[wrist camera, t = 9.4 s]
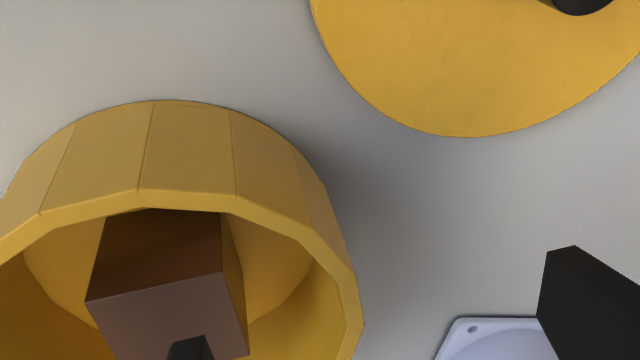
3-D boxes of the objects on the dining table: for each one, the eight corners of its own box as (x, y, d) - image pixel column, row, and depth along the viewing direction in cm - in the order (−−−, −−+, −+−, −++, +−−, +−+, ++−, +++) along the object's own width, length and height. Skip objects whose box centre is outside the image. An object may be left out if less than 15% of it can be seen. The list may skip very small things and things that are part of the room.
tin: (362, 121, 19) (410, 208, 14) (297, 341, 25) (317, 449, 20) (-14, 75, 15) (-101, 170, 11) (20, 343, 22) (-27, 471, 17)
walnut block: (219, 193, 19) (222, 271, 15) (243, 272, 21) (250, 355, 18) (105, 216, 18) (82, 303, 15) (142, 295, 21) (130, 384, 17)
